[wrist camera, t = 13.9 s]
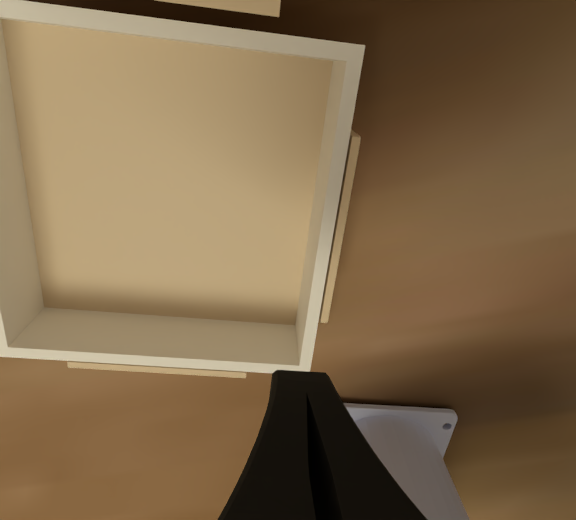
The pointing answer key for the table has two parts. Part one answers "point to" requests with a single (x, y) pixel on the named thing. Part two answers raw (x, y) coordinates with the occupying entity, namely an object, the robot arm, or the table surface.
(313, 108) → the carton
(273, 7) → the flap
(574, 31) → the table surface
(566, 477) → the table surface
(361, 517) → the robot arm
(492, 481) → the table surface
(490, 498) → the table surface
